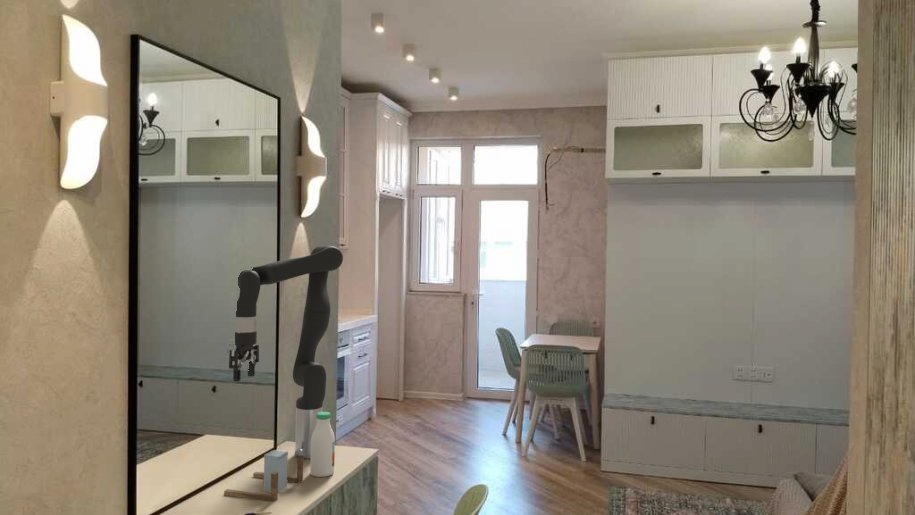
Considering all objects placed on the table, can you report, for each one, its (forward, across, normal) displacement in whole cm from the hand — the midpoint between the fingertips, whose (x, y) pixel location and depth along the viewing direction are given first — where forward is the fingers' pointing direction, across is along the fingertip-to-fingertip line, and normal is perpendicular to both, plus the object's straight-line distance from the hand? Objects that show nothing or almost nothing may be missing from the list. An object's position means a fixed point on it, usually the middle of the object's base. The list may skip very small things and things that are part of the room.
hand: (244, 378), depth 219 cm
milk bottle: (+30, -4, +27) cm, 41 cm away
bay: (+30, +13, +16) cm, 36 cm away
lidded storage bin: (+30, +13, +19) cm, 38 cm away
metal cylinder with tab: (+22, +5, +23) cm, 33 cm away
